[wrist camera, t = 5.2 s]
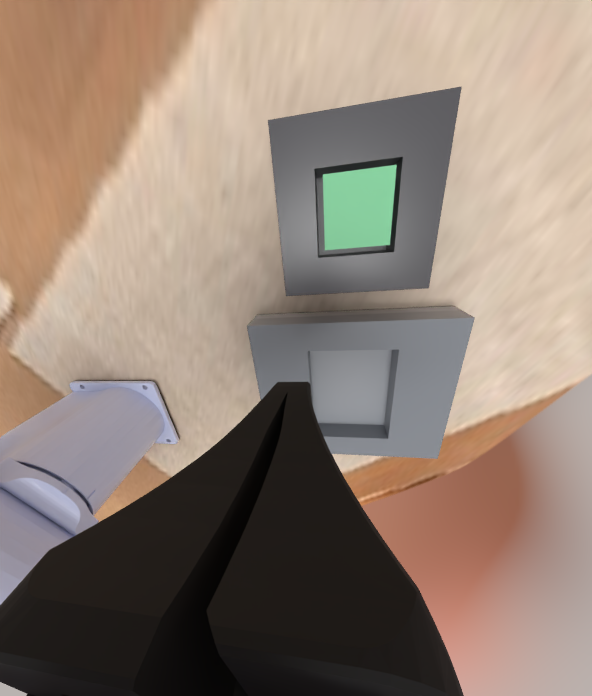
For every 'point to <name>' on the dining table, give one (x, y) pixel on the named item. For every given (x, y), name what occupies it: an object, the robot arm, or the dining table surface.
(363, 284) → the button housing
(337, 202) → the button
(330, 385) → the pocket plate
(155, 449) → the dining table surface
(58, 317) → the dining table surface
